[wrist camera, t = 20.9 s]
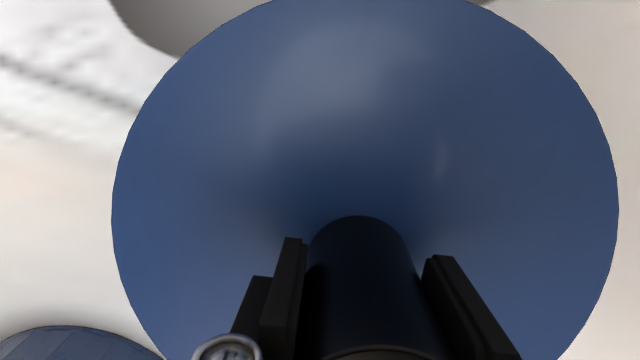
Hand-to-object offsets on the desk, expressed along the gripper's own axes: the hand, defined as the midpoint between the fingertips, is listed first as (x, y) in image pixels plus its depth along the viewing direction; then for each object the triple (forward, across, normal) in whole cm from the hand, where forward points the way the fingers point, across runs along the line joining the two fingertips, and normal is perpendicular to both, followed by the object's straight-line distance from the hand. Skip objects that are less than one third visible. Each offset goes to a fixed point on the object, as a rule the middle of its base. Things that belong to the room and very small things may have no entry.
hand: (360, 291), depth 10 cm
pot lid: (+2, 0, 0) cm, 2 cm away
